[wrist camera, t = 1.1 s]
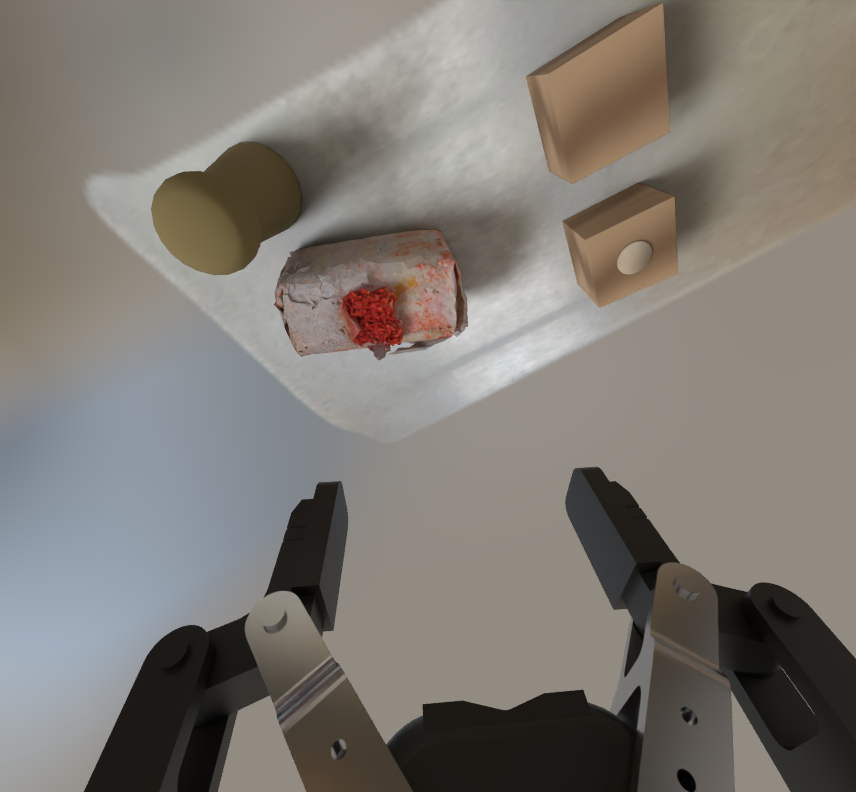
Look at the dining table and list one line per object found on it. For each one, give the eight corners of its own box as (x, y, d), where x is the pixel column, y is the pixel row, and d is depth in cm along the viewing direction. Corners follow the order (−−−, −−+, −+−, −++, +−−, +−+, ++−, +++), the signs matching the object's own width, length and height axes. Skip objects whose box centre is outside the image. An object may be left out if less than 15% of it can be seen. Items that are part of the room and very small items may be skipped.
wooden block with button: (561, 220, 30) (586, 241, 26) (637, 182, 28) (676, 196, 24) (577, 283, 33) (600, 309, 29) (645, 251, 32) (680, 274, 28)
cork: (298, 149, 26) (246, 178, 17) (305, 238, 29) (265, 296, 21) (207, 135, 25) (106, 157, 16) (226, 227, 29) (152, 284, 20)
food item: (452, 212, 29) (468, 255, 21) (460, 304, 34) (476, 364, 26) (286, 240, 30) (246, 290, 22) (319, 325, 35) (295, 390, 27)
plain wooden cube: (525, 76, 24) (548, 74, 20) (618, 17, 22) (662, 2, 18) (548, 171, 27) (572, 183, 24) (630, 125, 26) (669, 131, 22)
